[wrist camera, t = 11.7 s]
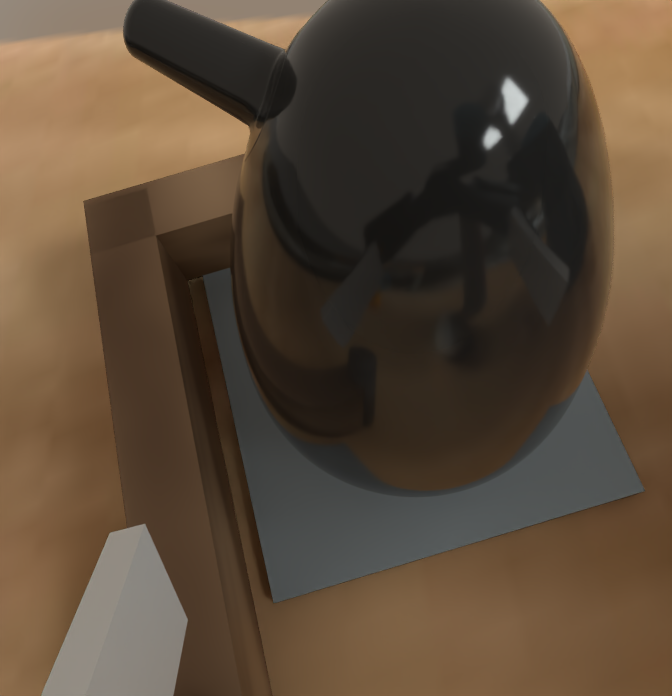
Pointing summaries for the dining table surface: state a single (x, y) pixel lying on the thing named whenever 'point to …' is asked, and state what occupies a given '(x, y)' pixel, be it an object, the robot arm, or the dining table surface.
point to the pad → (392, 511)
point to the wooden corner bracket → (176, 411)
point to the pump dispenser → (408, 228)
